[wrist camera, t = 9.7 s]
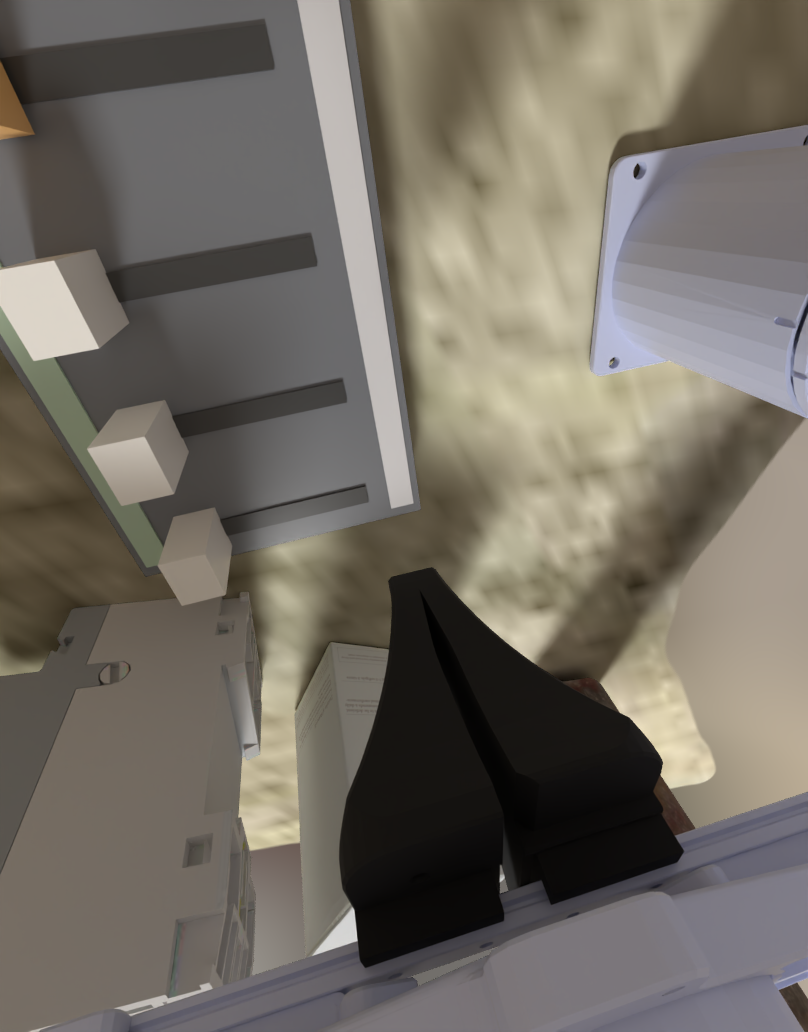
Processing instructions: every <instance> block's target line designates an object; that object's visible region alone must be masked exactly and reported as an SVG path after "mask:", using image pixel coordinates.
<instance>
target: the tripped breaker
mask: <svg viewBox="0 0 808 1032" xmlns="http://www.w3.org/2000/svg"><path fill="white" fill-rule="evenodd" d="M29 135H35V134H34V131H33V129H32V127H31V125H30V123H29V121H28V119H27V116H26V114H25V112H24V110H23V108H22V106H21V104H20V102H19V99H18V97H17V95H16V93H15V91H14V89H13V87H12V84H11V82H10V80H9V78H8V76H7V74H6V72H5V70H4V67H3V65H2V63H1V61H0V140H1V139H8V138H15V137H22V136H29Z"/></svg>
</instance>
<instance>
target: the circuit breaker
mask: <svg viewBox="0 0 808 1032" xmlns="http://www.w3.org/2000/svg"><path fill="white" fill-rule="evenodd" d="M57 639H58V641H59V643H60V646H59V648H58V650H57V652H55V651H52V650H51V652H50V654H49V656H48V658H47V660H46V662H45V664H44V666H43V668H42V669H41V670H40V671H39V672H32V673H24V674H16V675H8V676H0V1032H39V1031H40V1030H41V1029H44V1028H47V1027H50V1026H53V1025H56V1024H59V1023H62V1022H65V1021H69V1020H72V1019H75V1018H78V1017H81V1016H84V1015H87V1014H90V1013H93V1012H97V1011H101V1010H105V1009H121V1010H123V1011H125V1012H127V1013H128V1014H129V1015H130V1016H132V1015H135V1014H138V1013H141V1012H144V1011H147V1010H150V1009H153V1008H156V1007H159V1006H162V1005H165V1004H168V1003H171V1002H174V1001H178V1000H181V999H184V998H187V997H190V996H193V995H196V994H199V993H202V992H205V991H208V990H211V989H214V988H217V987H220V986H223V985H226V984H229V983H232V982H235V981H238V980H241V979H244V978H247V977H250V976H252V970H253V962H254V933H255V901H256V894H255V890H254V887H253V883H252V879H251V854H250V850H249V846H248V843H247V839H246V835H245V831H244V827H243V823H242V819H241V817H240V818H238V813H239V798H240V782H241V766H242V757H246V760H249V759H251V758H253V757H255V756H258V755H260V740H261V708H262V703H261V687H262V677H261V670H260V663H259V657H258V650H257V644H256V637H255V630H254V624H253V617H252V611H251V604H250V598H249V591H248V592H240V598H232V599H223V598H222V596H219V597H215V598H211V599H207V600H204V601H200V602H196V603H192V604H188V605H184V606H182V605H181V604H180V602H179V600H178V599H177V598H174V599H164V600H153V601H143V602H132V603H122V604H111V605H101V606H91V607H80V608H74V609H72V610H71V612H70V614H69V616H68V618H67V620H66V622H65V624H64V626H63V628H62V630H61V632H60V634H59V636H58V638H57Z"/></svg>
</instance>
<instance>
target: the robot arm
mask: <svg viewBox="0 0 808 1032" xmlns="http://www.w3.org/2000/svg"><path fill="white" fill-rule="evenodd" d="M806 136H807V140H806V143H805V145H804V146H803V143H804V140H805V138H806ZM637 163H638V164H639V166H640V171H639V174H638V176H637V177H636V178H634V176H633V171H634V168H635V166H636V165H637ZM612 358H615V360H614V362H613V363H612V365H610V366H609V362H610V360H611V359H612ZM666 361H671V362H673V363H675V364H678V365H680V366H683V367H685V368H687V369H690V370H692V371H695V372H697V373H699V374H702V375H704V376H707V377H709V378H711V379H714V380H716V381H719V382H721V383H723V384H726V385H728V386H731V387H733V388H735V389H738V390H740V391H743V392H745V393H747V394H750V395H752V396H755V397H757V398H759V399H762V400H764V401H767V402H769V403H771V404H774V405H776V406H779V407H781V408H783V409H786V410H788V411H791V412H793V413H795V414H798V415H800V416H803V417H805V418H807V419H808V125H803V126H797V127H791V128H785V129H779V130H774V131H768V132H762V133H756V134H750V135H744V136H739V137H733V138H727V139H721V140H715V141H709V142H703V143H698V144H692V145H686V146H680V147H674V148H668V149H663V150H657V151H651V152H645V153H639V154H633V155H627V156H623V157H620V158H618V159H617V160H616V161H615V162H614V164H613V165H612V167H611V169H610V173H609V180H608V189H607V199H606V209H605V219H604V229H603V238H602V248H601V258H600V268H599V277H598V287H597V297H596V307H595V316H594V326H593V336H592V346H591V356H590V370H591V372H592V373H594V374H596V375H598V376H603V375H608V374H612V373H617V372H621V371H626V370H630V369H635V368H639V367H644V366H648V365H653V364H657V363H662V362H666ZM388 582H389V588H390V593H391V601H392V619H391V636H390V645H389V653H388V661H387V667H386V673H385V678H384V683H383V687H382V692H381V696H380V700H379V704H378V708H377V712H376V716H375V719H374V723H373V726H372V729H371V733H370V736H369V739H368V742H367V745H366V748H365V751H364V754H363V757H362V760H361V762H360V765H359V768H358V770H357V773H356V775H355V778H354V780H353V783H352V785H351V788H350V790H349V793H348V795H347V798H346V804H345V809H344V814H343V820H342V827H341V833H340V843H339V865H340V874H341V883H342V889H343V891H344V893H345V895H346V897H347V898H348V900H349V902H350V903H351V905H352V907H353V909H354V912H355V922H356V931H357V940H358V941H356V942H353V943H350V944H347V945H344V946H341V947H338V948H335V949H332V950H328V951H325V952H322V953H319V954H316V955H313V956H310V957H307V958H305V959H302V960H298V961H295V962H292V963H289V964H287V965H283V966H280V967H278V968H274V969H272V970H268V971H265V972H262V973H259V974H256V975H253V976H250V977H247V978H244V979H241V980H238V981H235V982H232V983H229V984H226V985H223V986H220V987H217V988H214V989H211V990H208V991H205V992H202V993H199V994H196V995H193V996H190V997H187V998H184V999H181V1000H178V1001H174V1002H171V1003H168V1004H165V1005H162V1006H159V1007H156V1008H153V1009H150V1010H147V1011H144V1012H141V1013H138V1014H135V1015H132V1016H130V1015H129V1014H128V1013H127V1012H125V1011H123V1010H121V1009H105V1010H101V1011H97V1012H93V1013H90V1014H87V1015H84V1016H81V1017H78V1018H75V1019H72V1020H69V1021H65V1022H62V1023H59V1024H56V1025H53V1026H50V1027H47V1028H44V1029H41V1030H40V1031H39V1032H804V1030H803V1028H802V1027H801V1025H800V1024H799V1022H798V1020H797V1019H796V1017H795V1016H794V1014H793V1012H792V1011H791V1009H790V1008H789V1006H788V1005H787V1003H786V1001H785V1000H784V998H783V997H782V995H781V993H780V992H779V990H780V989H782V988H785V987H787V986H790V985H792V984H795V983H797V982H800V981H802V980H804V979H807V978H808V792H806V793H803V794H799V795H796V796H794V797H790V798H788V799H784V800H781V801H778V802H776V803H772V804H769V805H767V806H763V807H760V808H758V809H754V810H751V811H748V812H745V813H742V814H739V815H736V816H733V817H730V818H727V819H724V820H721V821H718V822H715V823H712V824H709V825H706V826H703V827H700V828H697V829H694V830H691V831H688V832H685V833H682V834H679V835H676V836H675V835H674V834H673V832H672V830H671V829H670V827H669V826H668V824H667V822H666V821H665V819H664V818H663V816H662V814H661V813H662V812H663V807H662V805H661V803H660V801H659V800H658V798H657V797H656V795H655V794H654V792H653V790H654V788H655V786H656V783H657V781H658V779H659V777H660V774H661V770H662V765H663V761H662V759H661V757H660V755H659V754H658V752H657V751H656V749H655V748H654V746H653V745H652V744H651V742H650V741H649V740H648V739H647V737H646V736H645V735H644V734H643V733H642V731H641V730H640V729H639V728H638V727H637V726H636V725H635V723H634V722H633V721H632V720H631V719H630V718H629V717H627V716H625V715H623V714H621V713H619V712H617V711H614V710H612V709H610V708H608V707H606V706H604V705H602V704H600V703H599V702H597V701H595V700H593V699H591V698H589V697H587V696H586V695H584V694H582V693H580V692H578V691H577V690H575V689H573V688H571V687H570V686H568V685H567V684H565V683H563V682H562V681H560V680H559V679H557V678H555V677H554V676H552V675H551V674H549V673H548V672H546V671H544V670H543V669H541V668H540V667H538V666H537V665H535V664H534V663H533V662H531V661H530V660H528V659H527V658H526V657H524V656H523V655H522V654H520V653H519V652H518V651H516V650H515V649H514V648H512V647H511V646H510V645H509V644H507V643H506V642H505V641H504V640H503V639H501V638H500V637H499V636H498V635H497V634H496V633H494V632H493V631H492V630H491V629H490V628H489V627H488V626H487V625H485V624H484V623H483V622H482V621H481V620H480V619H479V618H478V617H477V616H476V615H475V614H474V613H473V612H472V611H471V610H470V609H469V608H468V607H467V606H466V605H465V604H464V603H463V602H462V601H461V600H460V599H459V598H458V596H457V595H456V594H455V593H454V592H453V591H452V590H451V589H450V587H449V586H448V585H447V584H446V583H445V581H444V580H443V579H442V578H441V576H440V575H439V574H438V572H437V571H436V569H434V568H432V567H431V568H427V569H423V570H418V571H414V572H410V573H406V574H402V575H398V576H394V577H391V578H390V579H389V581H388ZM500 865H501V866H502V869H503V873H504V876H505V880H506V883H507V887H508V890H509V891H507V892H504V893H501V894H500ZM498 946H499V947H498ZM495 947H497V948H495ZM492 948H495V949H494V950H492V951H491V953H490V954H489V955H487V956H485V957H483V958H480V959H478V960H476V961H474V962H471V963H469V964H467V965H465V966H463V967H460V968H458V969H456V970H453V971H451V972H449V973H446V974H444V975H442V976H440V977H438V978H435V979H433V980H431V981H428V982H426V983H424V984H422V985H419V986H418V984H417V980H415V979H414V978H413V977H411V976H413V975H416V974H419V973H422V972H425V971H428V970H431V969H434V968H437V967H440V966H442V965H445V964H448V963H451V962H454V961H457V960H460V959H463V958H466V957H469V956H471V955H474V954H477V953H480V952H483V951H486V950H489V949H492ZM408 977H411V978H408Z"/></svg>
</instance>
